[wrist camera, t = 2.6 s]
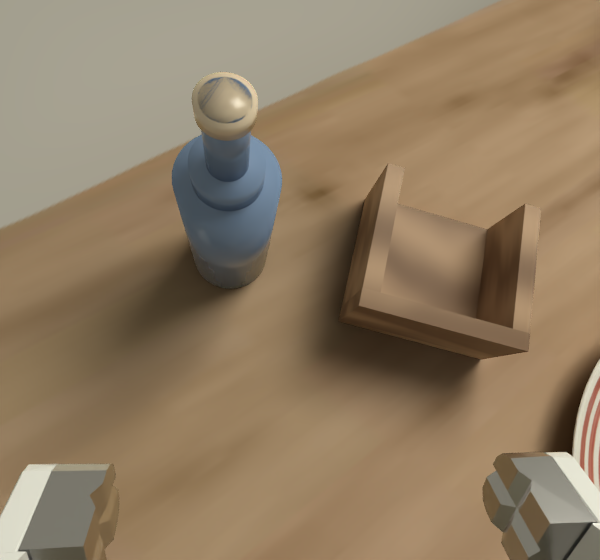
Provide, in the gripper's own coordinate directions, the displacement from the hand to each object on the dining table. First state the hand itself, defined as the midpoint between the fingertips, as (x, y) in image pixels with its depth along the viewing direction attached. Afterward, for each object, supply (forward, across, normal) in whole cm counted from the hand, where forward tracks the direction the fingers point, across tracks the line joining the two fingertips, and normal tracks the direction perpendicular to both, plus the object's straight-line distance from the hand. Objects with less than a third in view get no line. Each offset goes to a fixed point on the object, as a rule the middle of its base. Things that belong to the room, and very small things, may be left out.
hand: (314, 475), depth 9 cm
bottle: (+24, +2, +7) cm, 26 cm away
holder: (+23, -13, +8) cm, 28 cm away
